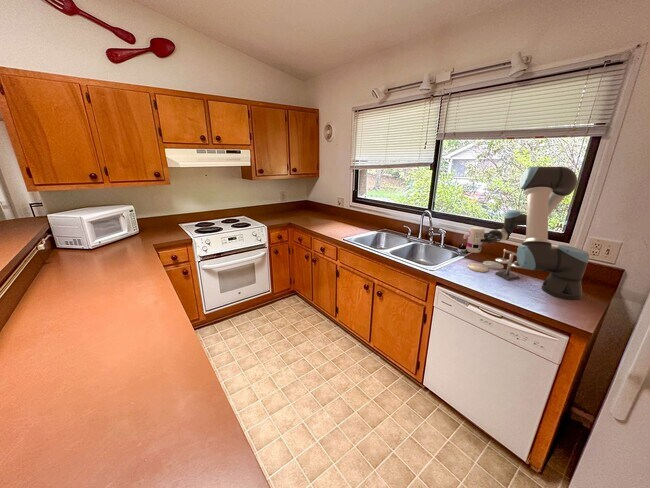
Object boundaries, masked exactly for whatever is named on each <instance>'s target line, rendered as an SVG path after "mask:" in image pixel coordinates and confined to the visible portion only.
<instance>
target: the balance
mask: <svg viewBox="0 0 650 488" xmlns="http://www.w3.org/2000/svg"><path fill="white" fill-rule="evenodd" d="M506 253H507V254H509V259H508V258H505V254H506ZM514 256H516V257H517V252H513V251H510V250H507V249H503V255H502V257H496V258H495V259H494V262H498V263H500V264H504V265H505V264H507V266H506V270H502V271H501V270H500V271H496V272H495V274H494V275H495V276H496V277H499V278H501V279H504V280H506V281H513V280H518V279H520V275H518V274H515V273H513V272H511V268H515V269H523V268H522V267H520V265H519V264H518V261H517V260H514ZM513 260H514V262H513Z"/></svg>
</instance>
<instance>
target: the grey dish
mask: <svg viewBox="0 0 650 488" xmlns="http://www.w3.org/2000/svg"><path fill="white" fill-rule="evenodd" d="M482 265H484V266H487V267H488V268H489V269H491V270H503V269H504V265H503V263H499V262H497V261H493V260H492V261H491V260H484V261H482Z"/></svg>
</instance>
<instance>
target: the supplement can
mask: <svg viewBox="0 0 650 488" xmlns="http://www.w3.org/2000/svg"><path fill="white" fill-rule="evenodd" d="M484 233H486V231H485V228H484V227H481V226H471V227H470V228H469V231H468V234H469V236H468V239H467V242H466V243H467V244H466V251H467V252H470V253H473V254H474V253H475V254H478V253H481V251H482V247H483V243H484V242H480V243H475V239H476V238H484Z"/></svg>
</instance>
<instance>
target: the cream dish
mask: <svg viewBox="0 0 650 488" xmlns="http://www.w3.org/2000/svg"><path fill="white" fill-rule="evenodd" d="M467 269H469V270H471V271H473V272H477V273H487V272H489V269H490V268H488V267H487V266H484V265H483V264H482V263H473V262H472V263H468V264H467Z"/></svg>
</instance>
